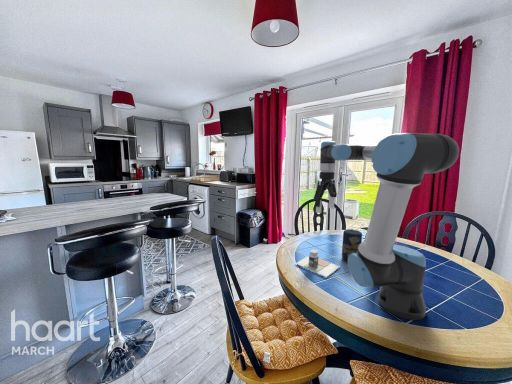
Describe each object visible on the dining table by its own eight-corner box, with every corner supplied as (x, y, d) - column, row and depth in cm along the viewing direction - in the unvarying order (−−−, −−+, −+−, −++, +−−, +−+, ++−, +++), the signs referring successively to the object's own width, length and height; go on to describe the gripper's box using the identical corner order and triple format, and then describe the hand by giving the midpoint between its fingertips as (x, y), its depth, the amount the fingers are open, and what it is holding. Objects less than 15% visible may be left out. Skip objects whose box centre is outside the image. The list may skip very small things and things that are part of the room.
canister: (342, 263, 114) (344, 231, 111) (340, 255, 123) (342, 226, 120) (361, 265, 111) (364, 233, 109) (357, 257, 121) (360, 227, 118)
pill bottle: (306, 265, 109) (307, 250, 108) (314, 263, 111) (314, 248, 110) (312, 269, 105) (312, 253, 104) (319, 267, 107) (320, 252, 105)
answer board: (339, 268, 108) (340, 266, 108) (326, 278, 99) (326, 276, 99) (310, 256, 121) (310, 254, 121) (295, 264, 112) (295, 262, 112)
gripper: (331, 170, 121) (330, 205, 124) (307, 172, 104) (306, 213, 108) (344, 170, 116) (342, 207, 119) (321, 172, 99) (319, 216, 102)
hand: (325, 210), depth 113 cm, fingers open, 13 cm apart
